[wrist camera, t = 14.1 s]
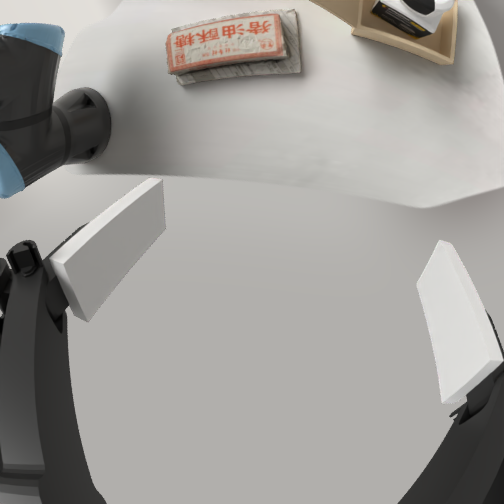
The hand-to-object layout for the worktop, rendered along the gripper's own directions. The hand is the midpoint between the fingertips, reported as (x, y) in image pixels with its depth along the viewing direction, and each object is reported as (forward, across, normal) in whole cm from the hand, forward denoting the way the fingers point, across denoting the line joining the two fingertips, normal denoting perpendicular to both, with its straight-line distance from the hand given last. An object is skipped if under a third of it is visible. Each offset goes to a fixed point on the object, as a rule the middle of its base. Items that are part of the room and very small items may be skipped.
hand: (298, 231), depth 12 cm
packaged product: (+29, -13, +11) cm, 34 cm away
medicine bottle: (+28, +9, +21) cm, 37 cm away
